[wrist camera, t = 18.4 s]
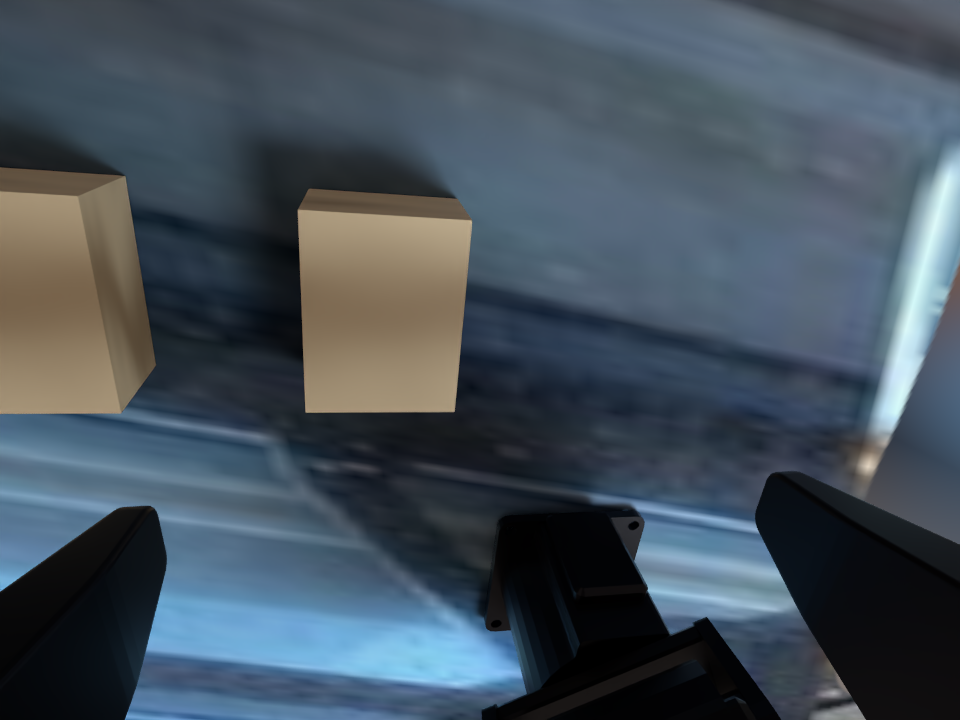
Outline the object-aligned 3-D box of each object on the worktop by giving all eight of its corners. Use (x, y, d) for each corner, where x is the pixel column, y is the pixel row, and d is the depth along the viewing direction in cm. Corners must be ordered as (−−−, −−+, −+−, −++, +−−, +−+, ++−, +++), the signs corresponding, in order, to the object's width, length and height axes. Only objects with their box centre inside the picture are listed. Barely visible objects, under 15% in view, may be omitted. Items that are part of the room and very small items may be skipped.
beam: (443, 368, 21) (454, 411, 18) (-1, 363, 18) (-65, 413, 15) (457, 198, 18) (472, 220, 15) (-60, 163, 15) (-149, 181, 13)
